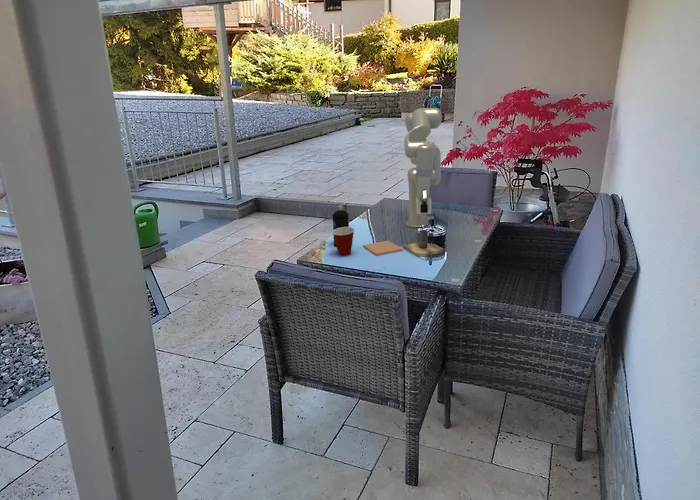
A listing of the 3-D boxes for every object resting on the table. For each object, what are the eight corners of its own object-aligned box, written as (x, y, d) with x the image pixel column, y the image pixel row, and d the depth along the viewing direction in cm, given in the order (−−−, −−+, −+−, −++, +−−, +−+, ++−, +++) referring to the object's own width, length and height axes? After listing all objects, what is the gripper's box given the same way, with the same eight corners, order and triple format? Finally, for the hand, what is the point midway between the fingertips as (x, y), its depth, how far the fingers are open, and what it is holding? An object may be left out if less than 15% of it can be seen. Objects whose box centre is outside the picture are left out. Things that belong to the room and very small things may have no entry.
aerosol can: (352, 243, 254) (350, 204, 248) (346, 248, 247) (345, 208, 240) (336, 241, 257) (335, 203, 250) (331, 247, 250) (329, 207, 243)
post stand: (427, 243, 250) (427, 225, 247) (443, 252, 238) (444, 232, 235) (402, 248, 245) (402, 229, 242) (418, 257, 233) (418, 237, 230)
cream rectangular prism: (416, 210, 239) (416, 197, 237) (430, 210, 238) (430, 197, 236) (416, 214, 233) (416, 201, 231) (431, 214, 232) (431, 201, 230)
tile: (388, 242, 254) (388, 240, 253) (402, 250, 242) (402, 248, 241) (363, 247, 248) (363, 245, 248) (376, 256, 236) (376, 253, 236)
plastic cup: (332, 250, 245) (331, 227, 241) (354, 249, 246) (353, 225, 242) (333, 258, 235) (332, 234, 231) (356, 257, 236) (355, 232, 232)
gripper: (415, 168, 237) (415, 205, 244) (416, 176, 221) (416, 216, 227) (431, 168, 236) (430, 205, 243) (434, 176, 220) (432, 215, 227)
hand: (423, 210), depth 235 cm, fingers closed on cream rectangular prism, 6 cm apart
